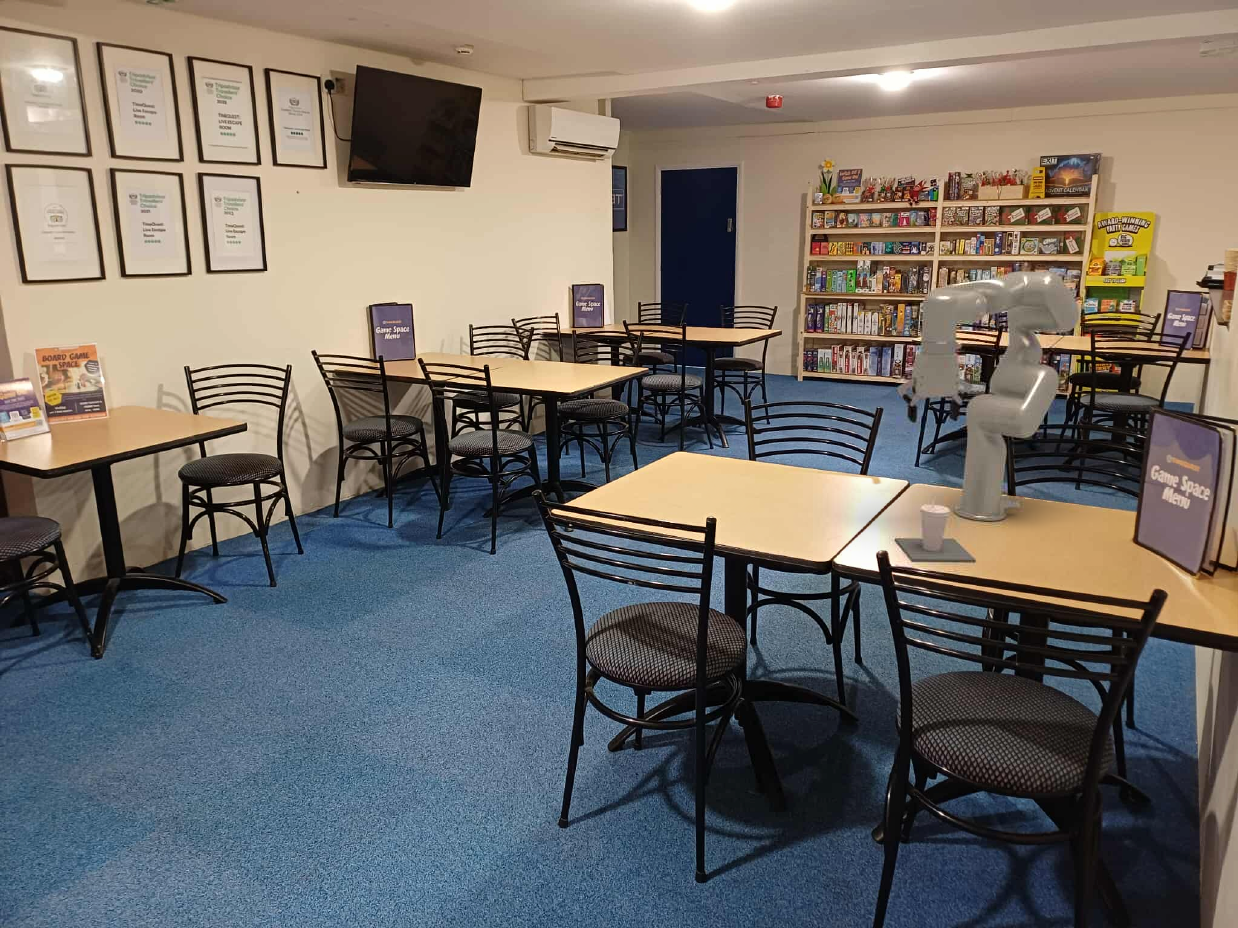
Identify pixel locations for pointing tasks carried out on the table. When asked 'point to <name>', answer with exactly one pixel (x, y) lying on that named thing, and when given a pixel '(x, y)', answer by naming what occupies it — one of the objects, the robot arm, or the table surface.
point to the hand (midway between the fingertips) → (932, 420)
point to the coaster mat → (947, 552)
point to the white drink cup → (933, 524)
